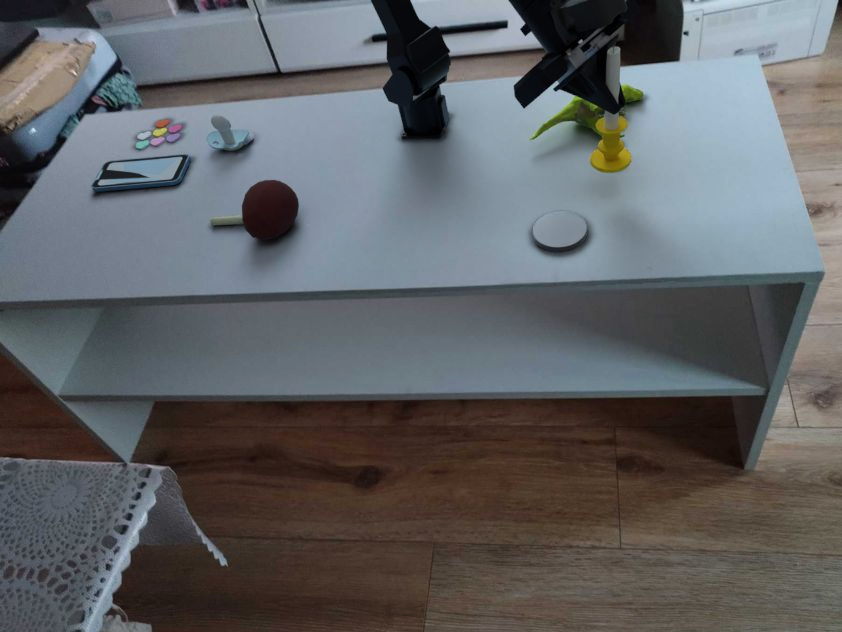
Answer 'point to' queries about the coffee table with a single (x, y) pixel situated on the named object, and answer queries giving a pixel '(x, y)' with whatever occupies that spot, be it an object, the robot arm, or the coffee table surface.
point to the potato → (269, 209)
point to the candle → (611, 125)
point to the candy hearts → (159, 133)
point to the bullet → (226, 220)
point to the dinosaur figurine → (586, 112)
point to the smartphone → (141, 172)
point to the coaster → (559, 231)
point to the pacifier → (227, 135)
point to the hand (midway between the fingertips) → (620, 109)
